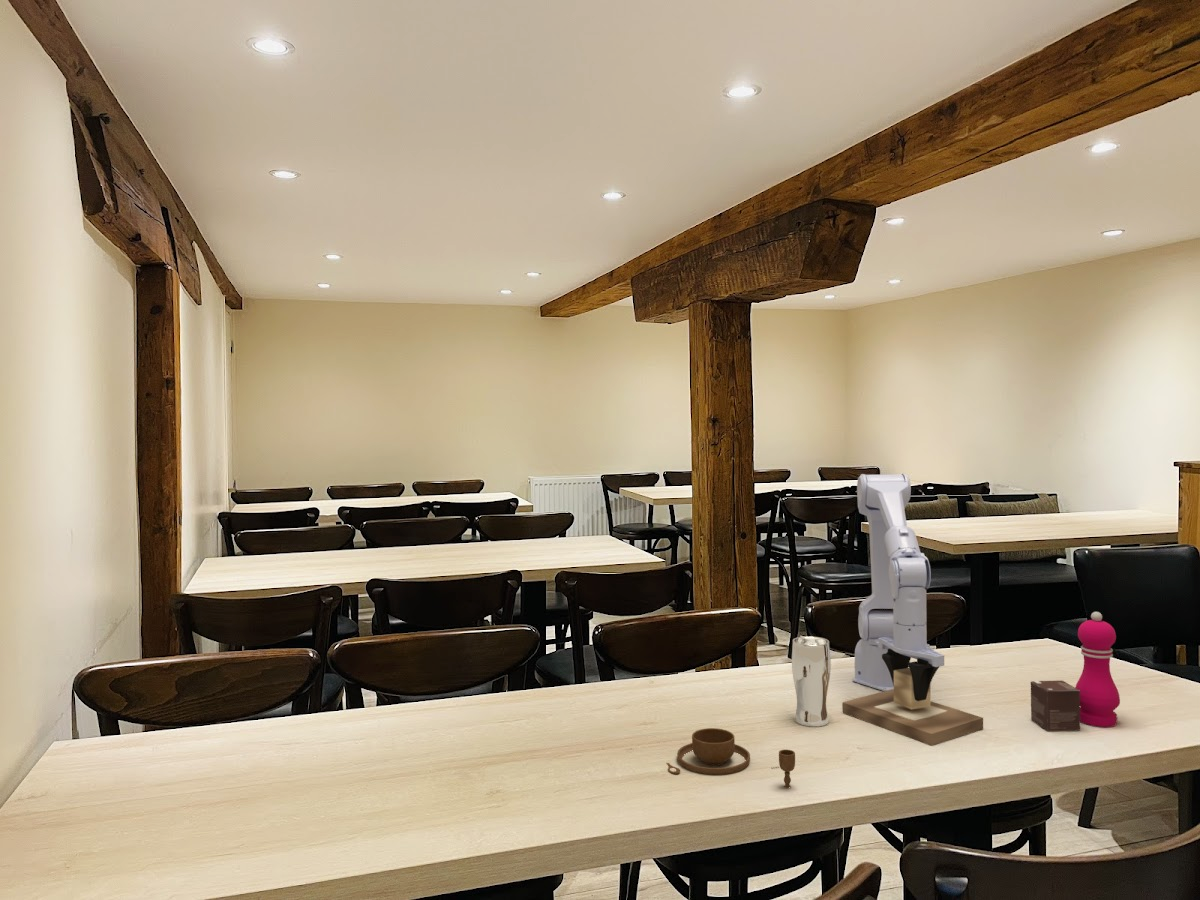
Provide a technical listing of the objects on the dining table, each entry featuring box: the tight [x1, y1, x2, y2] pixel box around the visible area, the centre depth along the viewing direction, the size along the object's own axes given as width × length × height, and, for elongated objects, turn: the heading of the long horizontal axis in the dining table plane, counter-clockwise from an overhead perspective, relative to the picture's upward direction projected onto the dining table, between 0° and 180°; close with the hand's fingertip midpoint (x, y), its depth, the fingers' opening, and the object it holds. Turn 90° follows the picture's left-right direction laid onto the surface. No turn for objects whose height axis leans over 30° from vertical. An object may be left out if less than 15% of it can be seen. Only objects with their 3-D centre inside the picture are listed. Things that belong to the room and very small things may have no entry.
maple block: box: [894, 667, 932, 710], centre depth 158 cm, size 4×4×6 cm
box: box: [1030, 680, 1081, 732], centre depth 155 cm, size 6×6×7 cm
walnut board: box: [841, 689, 984, 746], centre depth 158 cm, size 20×14×2 cm
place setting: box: [666, 727, 796, 789], centre depth 138 cm, size 18×20×6 cm
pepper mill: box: [1074, 611, 1121, 728], centre depth 156 cm, size 7×7×20 cm
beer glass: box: [791, 635, 832, 728], centre depth 159 cm, size 7×7×15 cm
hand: (910, 695), depth 158 cm, fingers closed on maple block, 4 cm apart
